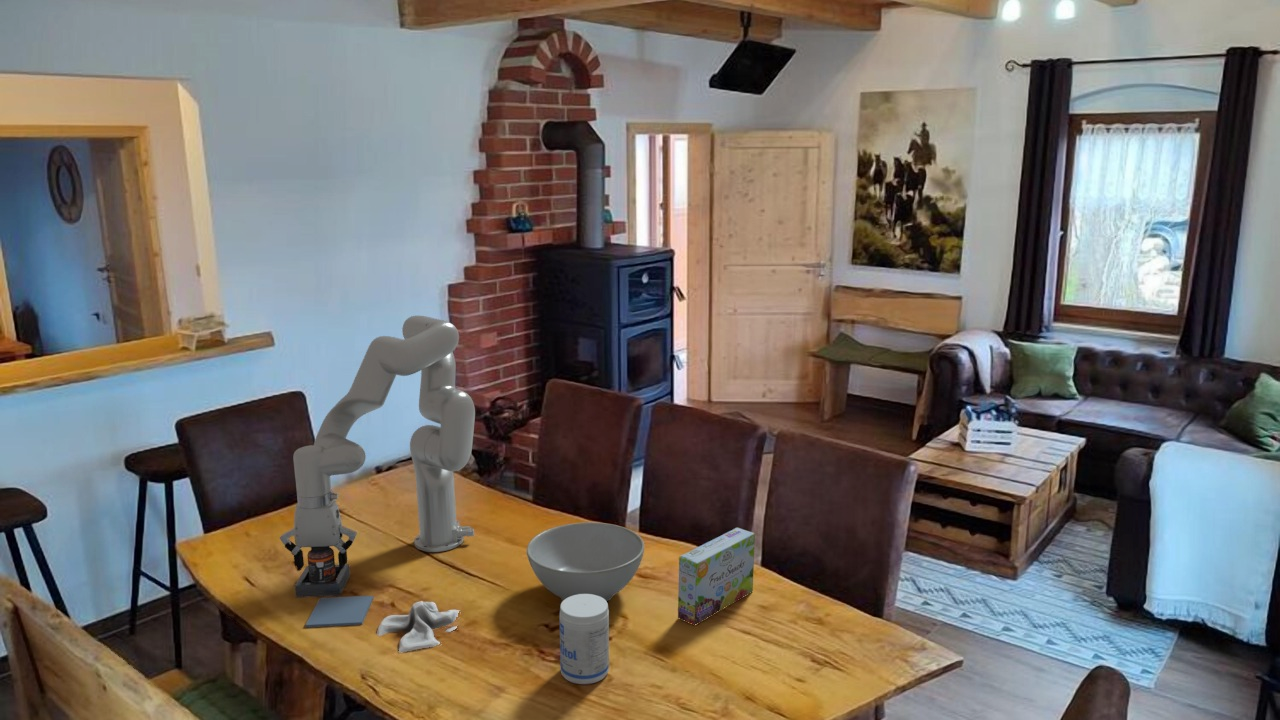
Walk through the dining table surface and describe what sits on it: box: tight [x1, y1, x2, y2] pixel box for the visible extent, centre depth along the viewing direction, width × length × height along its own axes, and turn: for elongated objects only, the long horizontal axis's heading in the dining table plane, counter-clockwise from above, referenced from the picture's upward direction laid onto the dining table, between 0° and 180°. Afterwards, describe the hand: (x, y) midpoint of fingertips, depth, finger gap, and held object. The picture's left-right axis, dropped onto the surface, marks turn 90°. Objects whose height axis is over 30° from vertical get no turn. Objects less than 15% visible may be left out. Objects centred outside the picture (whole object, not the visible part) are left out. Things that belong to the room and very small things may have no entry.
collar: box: [294, 563, 351, 599], centre depth 214 cm, size 10×10×3 cm
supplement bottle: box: [307, 546, 337, 583], centre depth 214 cm, size 6×6×11 cm
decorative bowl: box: [526, 521, 645, 602], centre depth 208 cm, size 27×27×12 cm
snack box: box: [677, 527, 756, 626], centre depth 202 cm, size 21×6×15 cm, turn 137°
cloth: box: [376, 600, 460, 654], centre depth 197 cm, size 22×19×6 cm
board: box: [304, 595, 374, 628], centre depth 203 cm, size 12×12×1 cm
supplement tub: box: [559, 594, 610, 685], centre depth 177 cm, size 10×10×15 cm
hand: (321, 567), depth 214 cm, fingers open, 9 cm apart
